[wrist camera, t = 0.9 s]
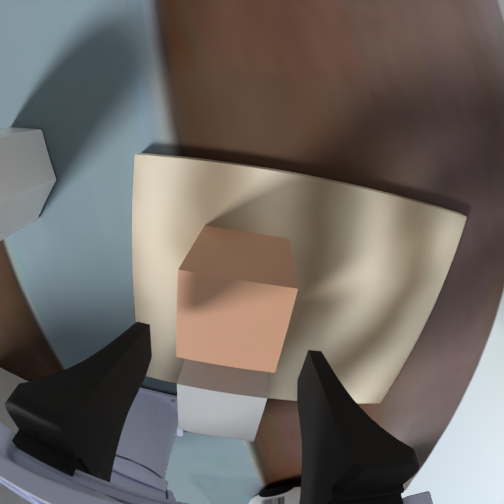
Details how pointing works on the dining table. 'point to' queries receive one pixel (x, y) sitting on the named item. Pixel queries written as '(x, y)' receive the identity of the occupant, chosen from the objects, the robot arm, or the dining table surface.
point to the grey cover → (220, 400)
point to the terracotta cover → (235, 299)
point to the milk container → (278, 495)
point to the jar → (23, 178)
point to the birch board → (298, 262)
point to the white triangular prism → (3, 384)
